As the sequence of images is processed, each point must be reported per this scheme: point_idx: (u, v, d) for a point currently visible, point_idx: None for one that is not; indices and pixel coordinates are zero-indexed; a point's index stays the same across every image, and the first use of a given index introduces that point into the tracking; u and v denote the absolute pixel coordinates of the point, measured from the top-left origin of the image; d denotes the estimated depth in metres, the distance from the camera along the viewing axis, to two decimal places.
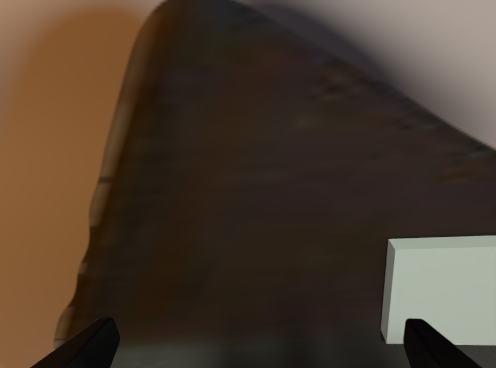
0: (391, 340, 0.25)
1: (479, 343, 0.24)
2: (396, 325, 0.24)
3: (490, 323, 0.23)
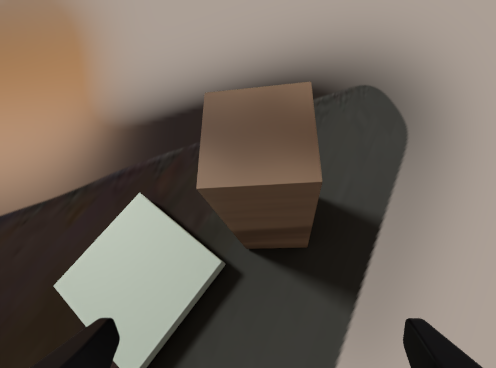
0: None
1: (199, 286, 0.21)
2: (117, 349, 0.20)
3: (183, 262, 0.22)
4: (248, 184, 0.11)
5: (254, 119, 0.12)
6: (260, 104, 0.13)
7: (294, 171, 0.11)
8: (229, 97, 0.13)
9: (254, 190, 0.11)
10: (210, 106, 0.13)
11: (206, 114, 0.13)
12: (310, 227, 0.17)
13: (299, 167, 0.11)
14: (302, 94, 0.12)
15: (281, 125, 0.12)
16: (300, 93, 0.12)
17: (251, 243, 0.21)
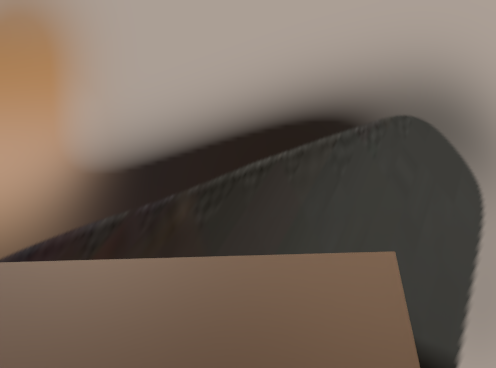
0: None
1: None
2: None
3: None
4: None
5: None
6: (170, 361, 0.03)
7: None
8: (56, 299, 0.03)
9: None
10: None
11: None
12: None
13: None
14: (364, 326, 0.03)
15: None
16: (352, 317, 0.03)
17: None
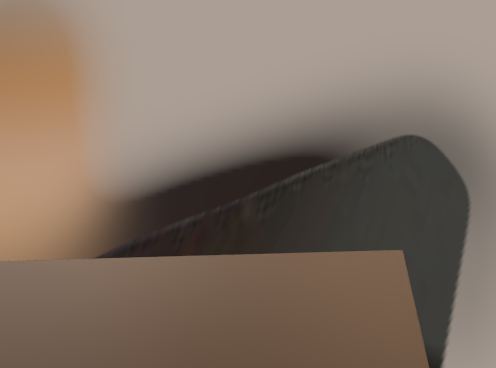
0: None
1: None
2: None
3: None
4: None
5: None
6: (187, 356, 0.03)
7: None
8: (74, 297, 0.03)
9: None
10: None
11: None
12: None
13: None
14: (374, 321, 0.03)
15: None
16: (362, 313, 0.03)
17: None
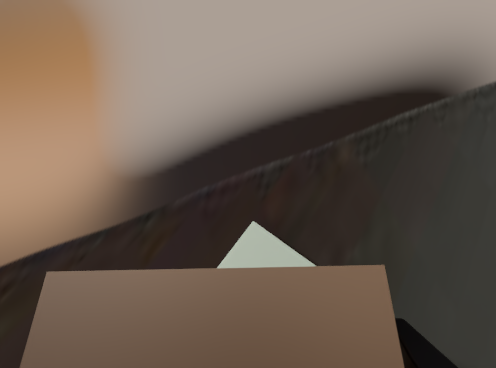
0: None
1: None
2: None
3: None
4: None
5: None
6: (209, 350, 0.04)
7: None
8: (113, 302, 0.04)
9: None
10: (51, 333, 0.04)
11: None
12: None
13: None
14: (359, 323, 0.03)
15: None
16: (351, 316, 0.03)
17: None
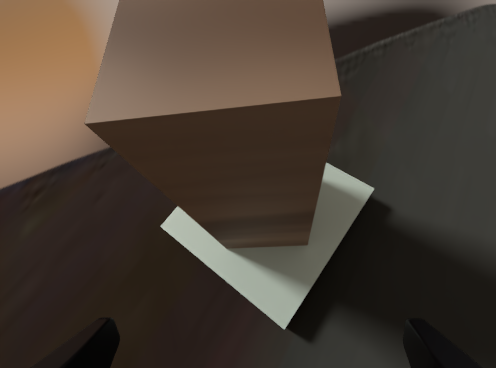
0: (282, 318, 0.15)
1: (352, 217, 0.17)
2: (259, 293, 0.16)
3: (324, 192, 0.18)
4: (185, 109, 0.05)
5: (208, 3, 0.07)
6: None
7: (281, 80, 0.05)
8: None
9: (203, 126, 0.06)
10: None
11: (124, 3, 0.07)
12: (312, 213, 0.11)
13: (291, 74, 0.05)
14: None
15: (257, 8, 0.06)
16: None
17: (231, 241, 0.15)
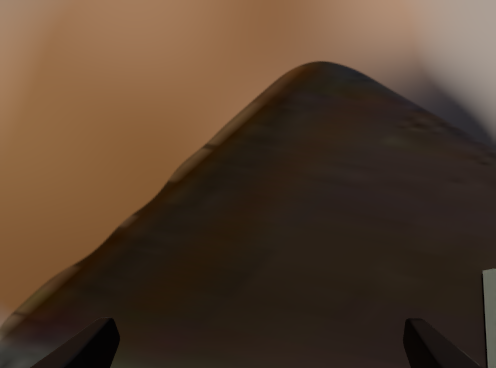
0: None
1: None
2: None
3: None
4: None
5: None
6: None
7: None
8: None
9: None
10: None
11: None
12: None
13: None
14: None
15: None
16: None
17: None
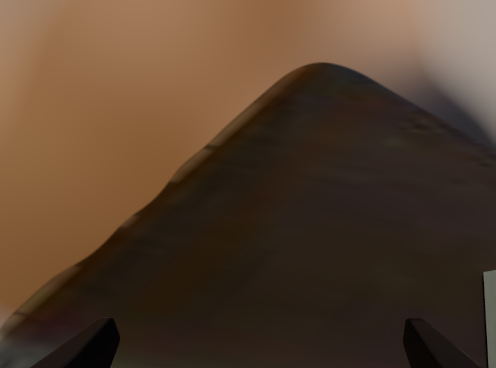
0: None
1: None
2: None
3: None
4: None
5: None
6: None
7: None
8: None
9: None
10: None
11: None
12: None
13: None
14: None
15: None
16: None
17: None
